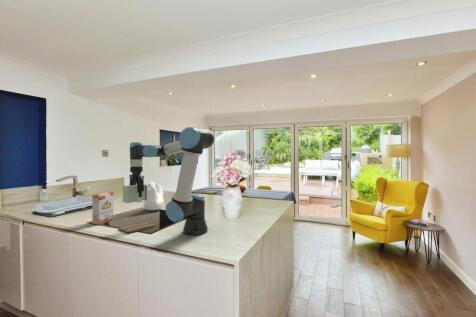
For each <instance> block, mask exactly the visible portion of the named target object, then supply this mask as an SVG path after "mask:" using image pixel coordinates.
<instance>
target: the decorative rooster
mask: <svg viewBox="0 0 476 317" xmlns="http://www.w3.org/2000/svg"><path fill="white" fill-rule="evenodd" d="M164 203H165V200H164V191H163V187H162V186H161V184H156V183H155V182H154V181H149V182H148V183H147V200H144V203H143V208H144V209H145V210H146V211H157V210H161V209H163V207H164Z"/></svg>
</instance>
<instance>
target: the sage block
mask: <svg viewBox="0 0 476 317" xmlns="http://www.w3.org/2000/svg"><path fill="white" fill-rule="evenodd" d="M147 186H148V184H144V191H142V202H143V201H145V200H147ZM137 191H138V189H137V184H136V185H130V184H129V185H123V186H122V202H123V203H127V204H128V203H135V202H136V203H138V202H137Z"/></svg>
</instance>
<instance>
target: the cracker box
mask: <svg viewBox="0 0 476 317" xmlns="http://www.w3.org/2000/svg"><path fill="white" fill-rule="evenodd" d="M91 196H92V197H91V198H92V200H91V201H92V203H91V204H92V206H91V208H92V209H91V210H92V213H91V214H92V219H91V220H92V222H91V223H92V225H97V226H98V225H99V226H100V225H102V224H105V223H108V222H110V221H113V220H114V192H113V191H104V192H100V193H93V194H91Z"/></svg>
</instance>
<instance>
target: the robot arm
mask: <svg viewBox="0 0 476 317" xmlns="http://www.w3.org/2000/svg"><path fill="white" fill-rule="evenodd" d="M214 142H215V136H214V133H213V132H212V131H211V130H210V129H207V128H201V127H195V126H187V127H185V128H184V129H182V130H181V132H180V133H179V137H178V140H176V141H173V142H170V143H166V144H163V145H156V144H155V145H153V144H146V145H145V144H144V145H143V143H142V142H138V141H137V142H135V141H134V142H132V141H131V142H130V143H129V160H130V161H129V163H130V164H129V165H130V167H129V172H130V173H131V174H129V185H137V189H138V191H137V202H136V203H142V202H143V201H142V191H144V185H145V183H144V180H145V179H144V178H145V176H144V175H142V173H143V172H144V171H143V168H144V167H143V165H144V163H143V158H158V157H159V158H165V157H166V158H167V157H170V156H171V155H176V154H181V153H183V154H182V160H181V164H180V165H181V166H180V169H179V175H178V178H177V179H178V180H177V185H176V188H175V193H174V194H172V195H171V201H169V202H168V203H166V204H165V213H166V216H167V217H168V219H169V220H170V221H171V222H174V223H177V222H182V221H183V220H184V221H185V222H184V226H183V228H182V229H183V230H182V233H183V234H185V235H187V236H199V235H203V234H204V235H205V234H206V233H207V232H208V231H209V230H208V225H207V222H206V218H205V217H206V216H205V212H206V210H205V208H206V207H205V206H206V200H205V196H204V195H203V194H192V191H193V187H194V181H195V176H196V171H197V166H198V163H199V159H200V156H201V155H202V154H203V152H204V149H205V150H206V149H210V148H211V147H212V146H213V145H214Z"/></svg>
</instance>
